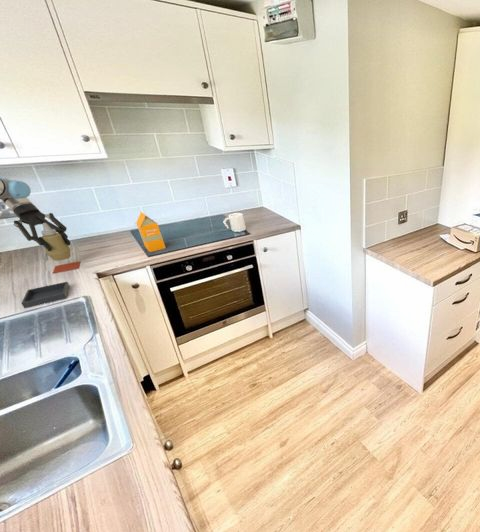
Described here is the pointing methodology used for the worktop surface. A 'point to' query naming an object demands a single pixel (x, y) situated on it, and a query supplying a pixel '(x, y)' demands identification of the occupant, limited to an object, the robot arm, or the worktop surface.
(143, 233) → the orange juice
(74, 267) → the mat
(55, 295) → the tray
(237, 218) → the mug
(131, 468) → the worktop surface
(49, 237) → the squeeze bottle
